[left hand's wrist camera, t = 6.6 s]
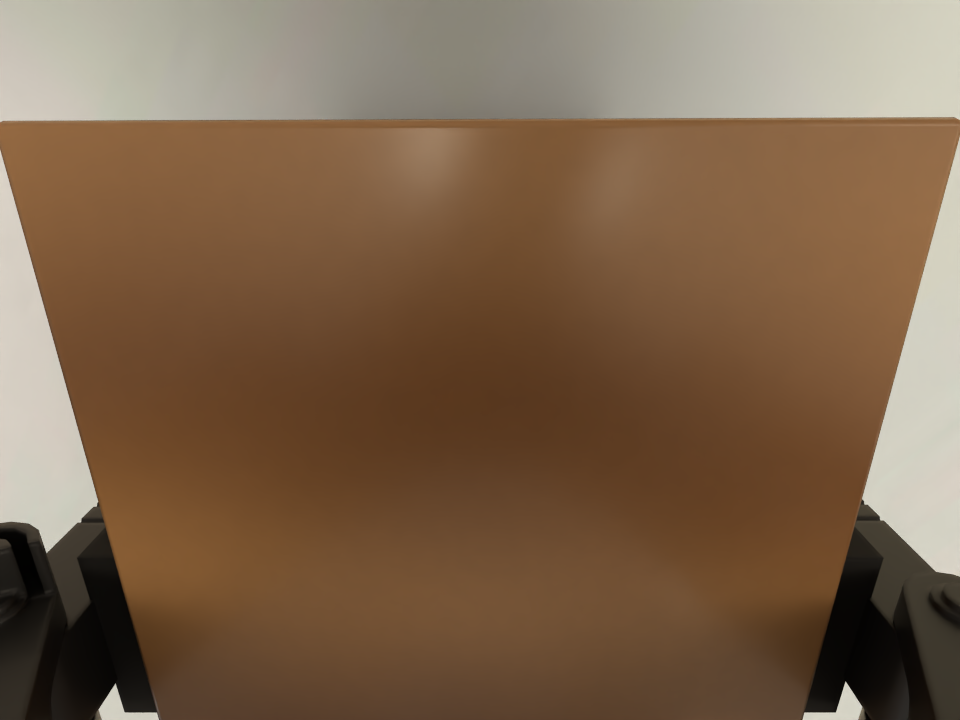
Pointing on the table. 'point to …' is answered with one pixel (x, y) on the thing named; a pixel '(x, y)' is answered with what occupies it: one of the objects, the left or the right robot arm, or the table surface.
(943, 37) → the table surface
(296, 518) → the wooden grain beam
